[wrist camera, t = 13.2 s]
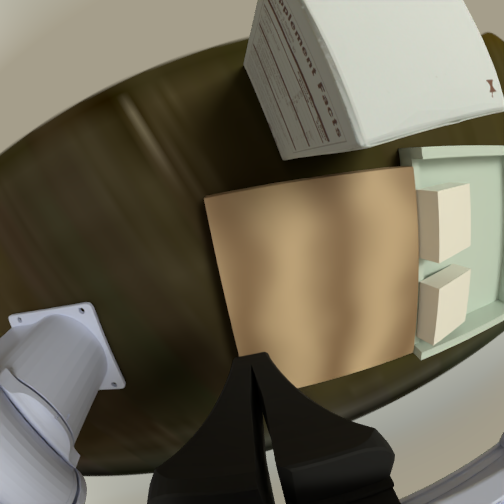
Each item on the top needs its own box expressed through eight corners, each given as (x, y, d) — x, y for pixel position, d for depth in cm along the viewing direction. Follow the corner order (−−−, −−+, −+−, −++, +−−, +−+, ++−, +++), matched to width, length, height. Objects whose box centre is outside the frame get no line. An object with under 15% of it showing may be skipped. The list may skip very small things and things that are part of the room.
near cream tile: (418, 257, 20) (439, 263, 18) (415, 189, 19) (437, 191, 17) (451, 241, 22) (470, 245, 20) (449, 182, 20) (469, 183, 19)
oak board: (247, 382, 24) (249, 398, 22) (205, 195, 20) (203, 198, 18) (402, 340, 24) (413, 352, 22) (398, 166, 20) (413, 166, 18)
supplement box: (337, 41, 17) (437, -48, 5) (373, 134, 19) (513, 116, 7) (239, 63, 17) (265, -59, 5) (278, 163, 19) (365, 155, 7)
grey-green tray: (404, 342, 24) (420, 360, 21) (398, 148, 20) (421, 147, 17) (498, 302, 25) (516, 312, 22) (502, 145, 20) (524, 146, 18)
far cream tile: (416, 336, 22) (433, 345, 20) (419, 281, 21) (439, 289, 19) (448, 314, 24) (465, 320, 22) (453, 263, 22) (470, 268, 21)
